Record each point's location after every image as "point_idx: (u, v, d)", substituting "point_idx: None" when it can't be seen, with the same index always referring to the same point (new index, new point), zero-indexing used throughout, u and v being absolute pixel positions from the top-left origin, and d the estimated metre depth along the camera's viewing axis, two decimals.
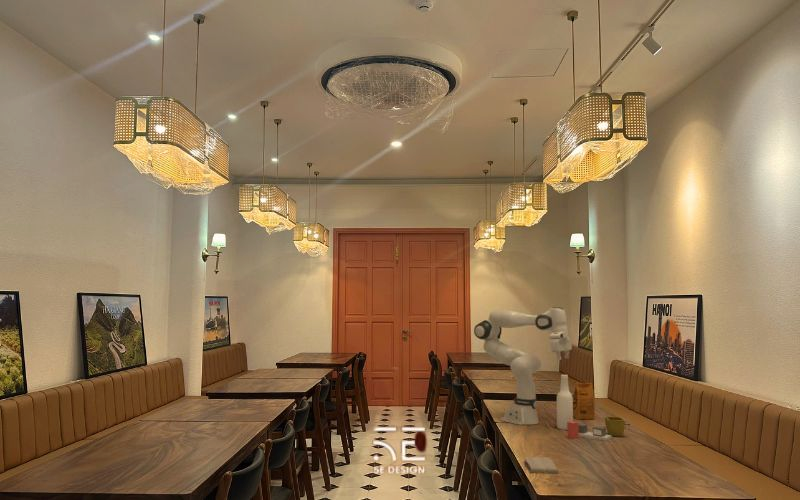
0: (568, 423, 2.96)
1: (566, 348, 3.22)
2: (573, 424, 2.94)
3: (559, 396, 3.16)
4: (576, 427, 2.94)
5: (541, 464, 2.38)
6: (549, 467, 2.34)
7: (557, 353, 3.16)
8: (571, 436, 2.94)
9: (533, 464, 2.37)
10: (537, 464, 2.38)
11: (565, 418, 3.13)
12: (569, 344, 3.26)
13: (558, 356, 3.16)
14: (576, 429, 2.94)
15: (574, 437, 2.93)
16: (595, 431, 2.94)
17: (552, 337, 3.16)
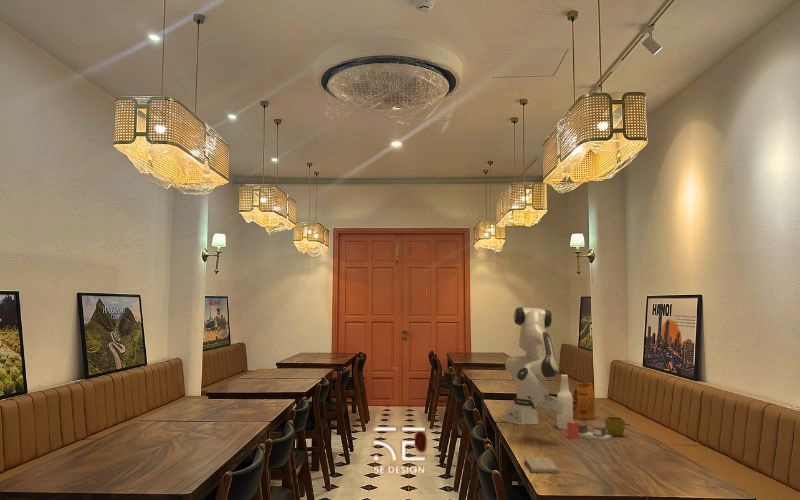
0: (568, 423, 2.96)
1: (549, 407, 2.88)
2: (573, 424, 2.94)
3: (559, 396, 3.16)
4: (576, 427, 2.94)
5: (541, 464, 2.38)
6: (550, 467, 2.34)
7: None
8: (571, 436, 2.94)
9: (534, 464, 2.37)
10: (537, 464, 2.38)
11: (565, 418, 3.13)
12: (553, 406, 2.83)
13: None
14: (576, 429, 2.94)
15: (574, 437, 2.93)
16: (595, 431, 2.94)
17: None
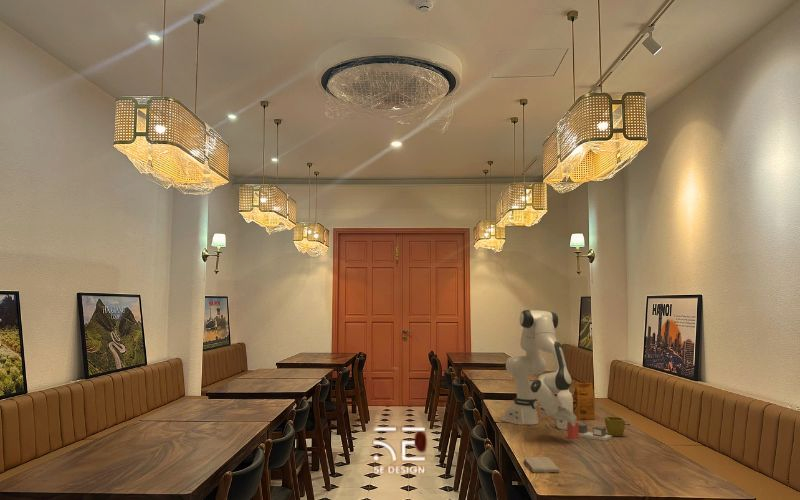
0: (568, 423, 2.96)
1: (562, 419, 2.91)
2: None
3: (559, 396, 3.16)
4: (576, 427, 2.94)
5: (542, 464, 2.38)
6: (550, 467, 2.34)
7: None
8: (571, 436, 2.94)
9: (534, 464, 2.37)
10: (538, 464, 2.38)
11: None
12: (566, 418, 2.86)
13: None
14: (576, 429, 2.94)
15: (574, 437, 2.93)
16: (595, 431, 2.94)
17: None
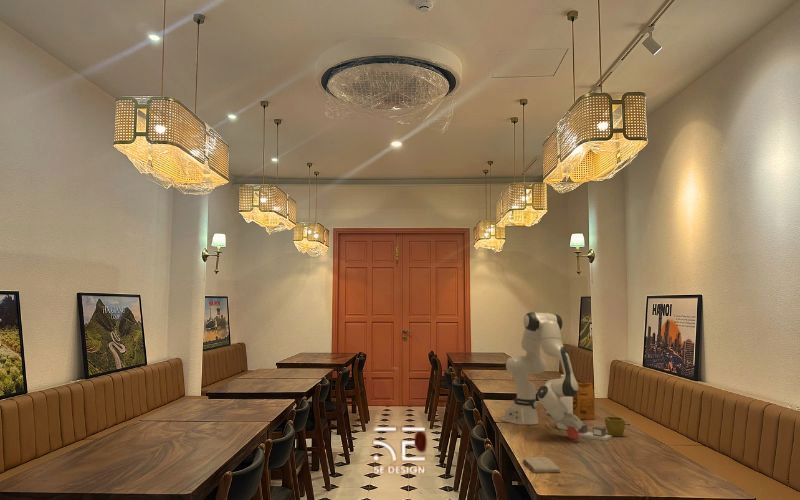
0: None
1: (568, 425, 2.92)
2: None
3: None
4: None
5: (542, 464, 2.38)
6: (551, 467, 2.35)
7: None
8: (571, 436, 2.94)
9: (535, 464, 2.37)
10: (538, 464, 2.38)
11: None
12: (572, 424, 2.87)
13: None
14: None
15: (574, 437, 2.93)
16: (595, 431, 2.94)
17: None
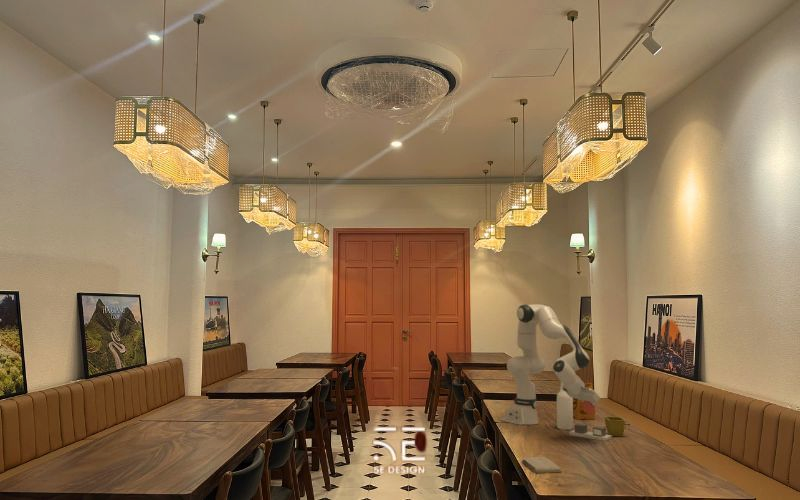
0: None
1: (585, 399, 2.93)
2: None
3: (559, 396, 3.16)
4: None
5: (543, 464, 2.38)
6: (552, 467, 2.35)
7: None
8: (588, 411, 2.94)
9: (536, 464, 2.37)
10: (539, 464, 2.37)
11: (565, 418, 3.13)
12: (589, 398, 2.88)
13: None
14: None
15: (591, 412, 2.94)
16: (595, 431, 2.94)
17: None
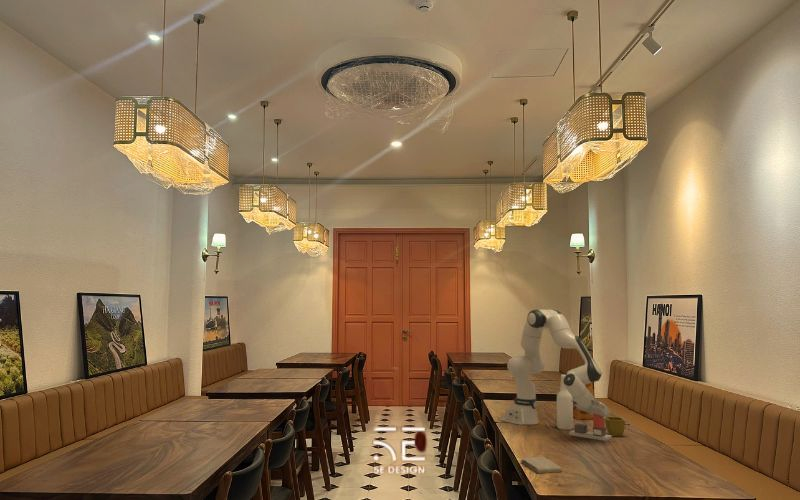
0: None
1: (594, 413, 2.92)
2: None
3: (559, 396, 3.16)
4: None
5: (543, 464, 2.38)
6: (553, 466, 2.35)
7: None
8: (597, 426, 2.94)
9: (537, 464, 2.37)
10: (540, 464, 2.37)
11: (565, 418, 3.13)
12: (599, 412, 2.88)
13: None
14: (602, 419, 2.94)
15: (600, 427, 2.93)
16: (595, 431, 2.94)
17: None
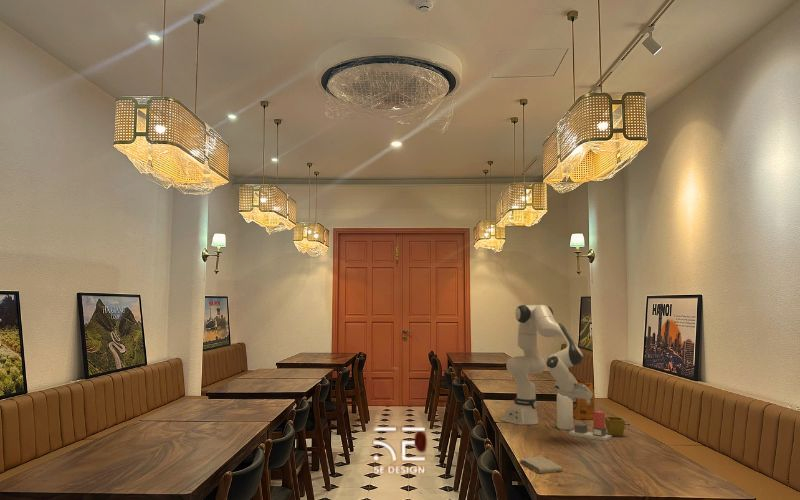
0: (594, 413, 2.96)
1: (577, 396, 2.88)
2: (599, 414, 2.94)
3: (559, 396, 3.16)
4: (602, 417, 2.95)
5: (544, 464, 2.38)
6: (554, 466, 2.36)
7: None
8: (597, 426, 2.94)
9: (538, 465, 2.36)
10: (541, 464, 2.37)
11: (565, 418, 3.13)
12: (582, 395, 2.84)
13: None
14: (602, 419, 2.94)
15: (600, 427, 2.93)
16: (595, 431, 2.94)
17: None
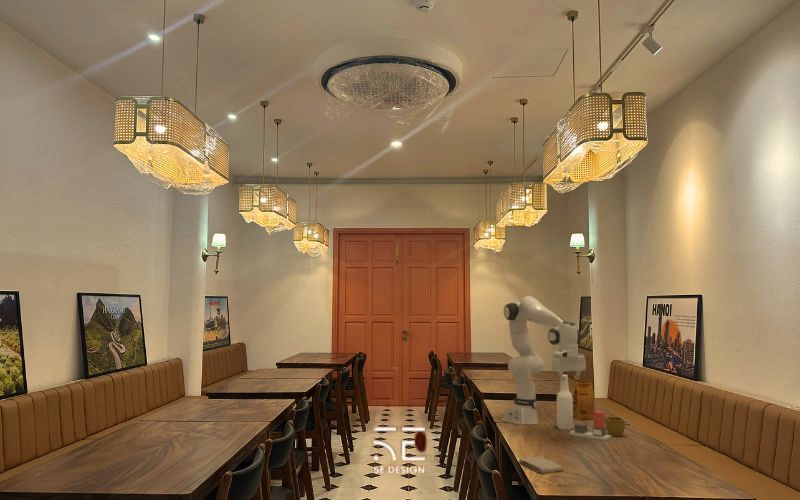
0: (594, 413, 2.96)
1: (574, 368, 2.91)
2: (599, 414, 2.94)
3: (559, 396, 3.16)
4: (602, 417, 2.95)
5: (545, 464, 2.38)
6: (555, 466, 2.36)
7: (559, 373, 2.89)
8: (597, 426, 2.94)
9: (539, 465, 2.36)
10: (541, 464, 2.37)
11: (565, 418, 3.13)
12: (581, 364, 2.93)
13: (560, 376, 2.89)
14: (602, 419, 2.94)
15: (600, 427, 2.93)
16: (595, 431, 2.94)
17: (554, 355, 2.89)
